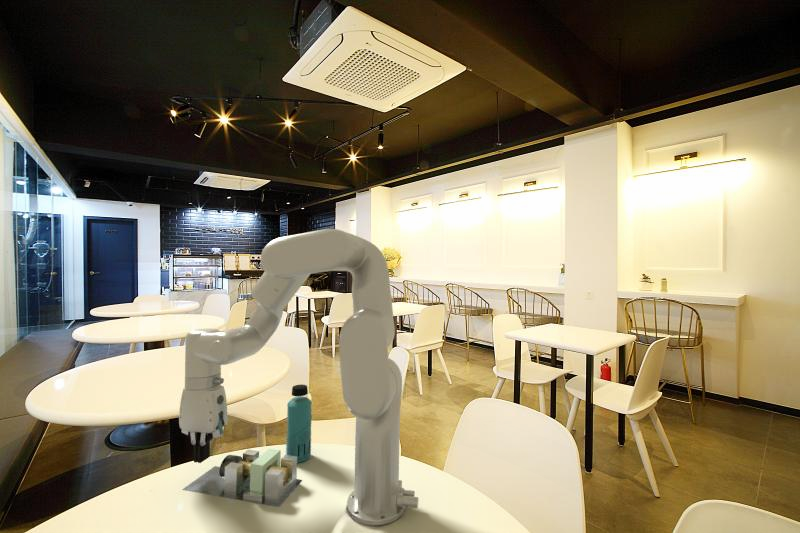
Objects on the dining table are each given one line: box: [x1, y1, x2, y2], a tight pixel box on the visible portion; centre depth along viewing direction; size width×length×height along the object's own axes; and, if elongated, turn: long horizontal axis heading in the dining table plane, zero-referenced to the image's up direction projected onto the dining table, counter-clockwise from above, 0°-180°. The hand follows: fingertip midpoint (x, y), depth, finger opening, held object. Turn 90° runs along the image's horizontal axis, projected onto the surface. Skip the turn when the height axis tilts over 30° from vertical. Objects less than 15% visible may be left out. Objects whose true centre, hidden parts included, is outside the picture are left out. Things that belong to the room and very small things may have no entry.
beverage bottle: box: [285, 384, 313, 464], centre depth 94 cm, size 6×7×20 cm
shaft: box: [219, 454, 289, 483], centre depth 81 cm, size 15×5×5 cm, turn 77°
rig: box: [182, 449, 303, 508], centre depth 81 cm, size 24×10×7 cm, turn 77°
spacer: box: [250, 448, 282, 496], centre depth 80 cm, size 3×7×7 cm, turn 167°
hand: (201, 459), depth 84 cm, fingers closed
